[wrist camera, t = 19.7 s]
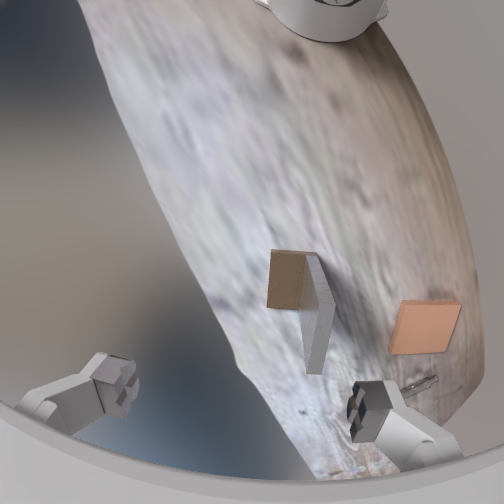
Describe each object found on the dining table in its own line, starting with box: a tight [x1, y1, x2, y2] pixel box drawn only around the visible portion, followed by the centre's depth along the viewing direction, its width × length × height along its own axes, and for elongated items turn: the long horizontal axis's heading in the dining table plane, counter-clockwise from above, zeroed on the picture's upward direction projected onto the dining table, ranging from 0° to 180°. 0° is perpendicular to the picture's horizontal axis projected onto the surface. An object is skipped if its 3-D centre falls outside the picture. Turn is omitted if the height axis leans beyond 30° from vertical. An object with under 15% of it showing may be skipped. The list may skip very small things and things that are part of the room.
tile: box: [388, 300, 461, 355], centre depth 42 cm, size 9×2×11 cm
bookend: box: [267, 249, 336, 375], centre depth 35 cm, size 8×6×16 cm
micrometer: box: [400, 375, 438, 399], centre depth 47 cm, size 15×7×2 cm, turn 116°
